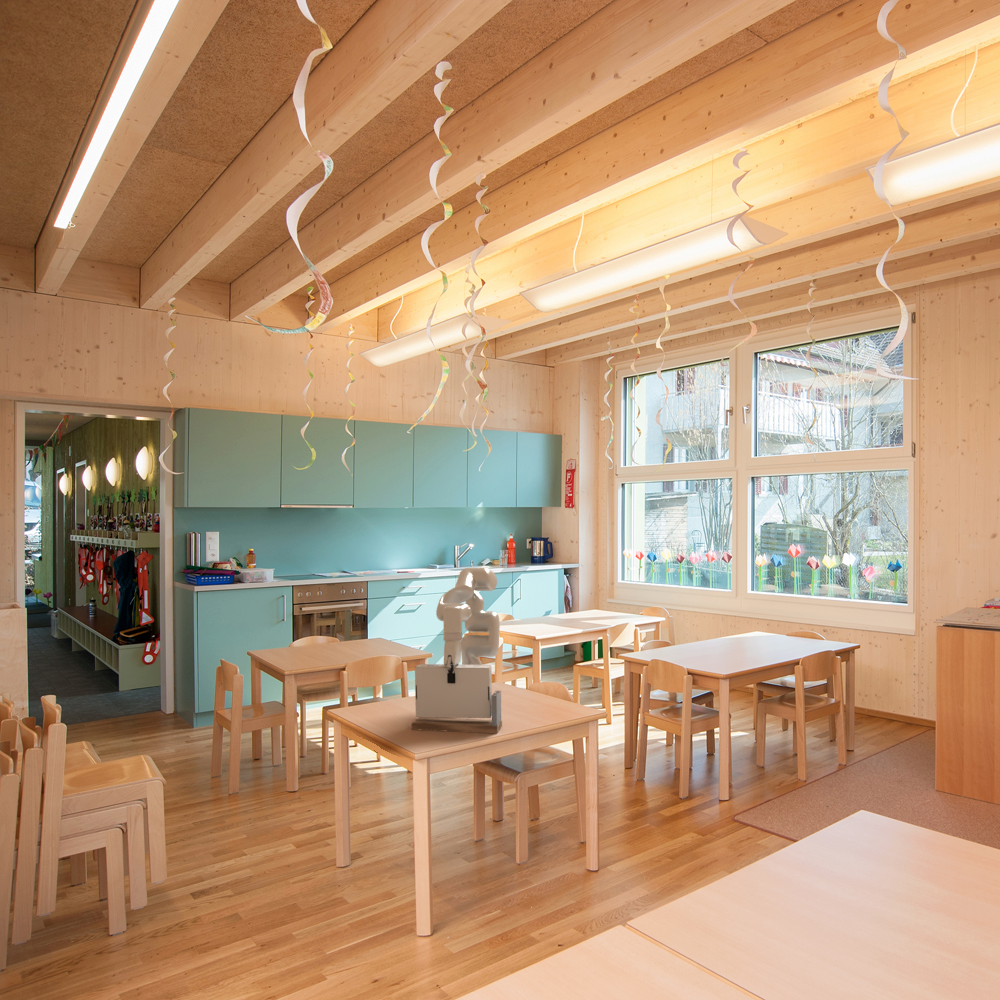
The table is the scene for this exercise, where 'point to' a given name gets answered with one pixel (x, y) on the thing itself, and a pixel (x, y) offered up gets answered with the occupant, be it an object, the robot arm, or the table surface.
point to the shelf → (455, 724)
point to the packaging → (453, 691)
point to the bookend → (496, 708)
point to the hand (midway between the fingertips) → (453, 681)
